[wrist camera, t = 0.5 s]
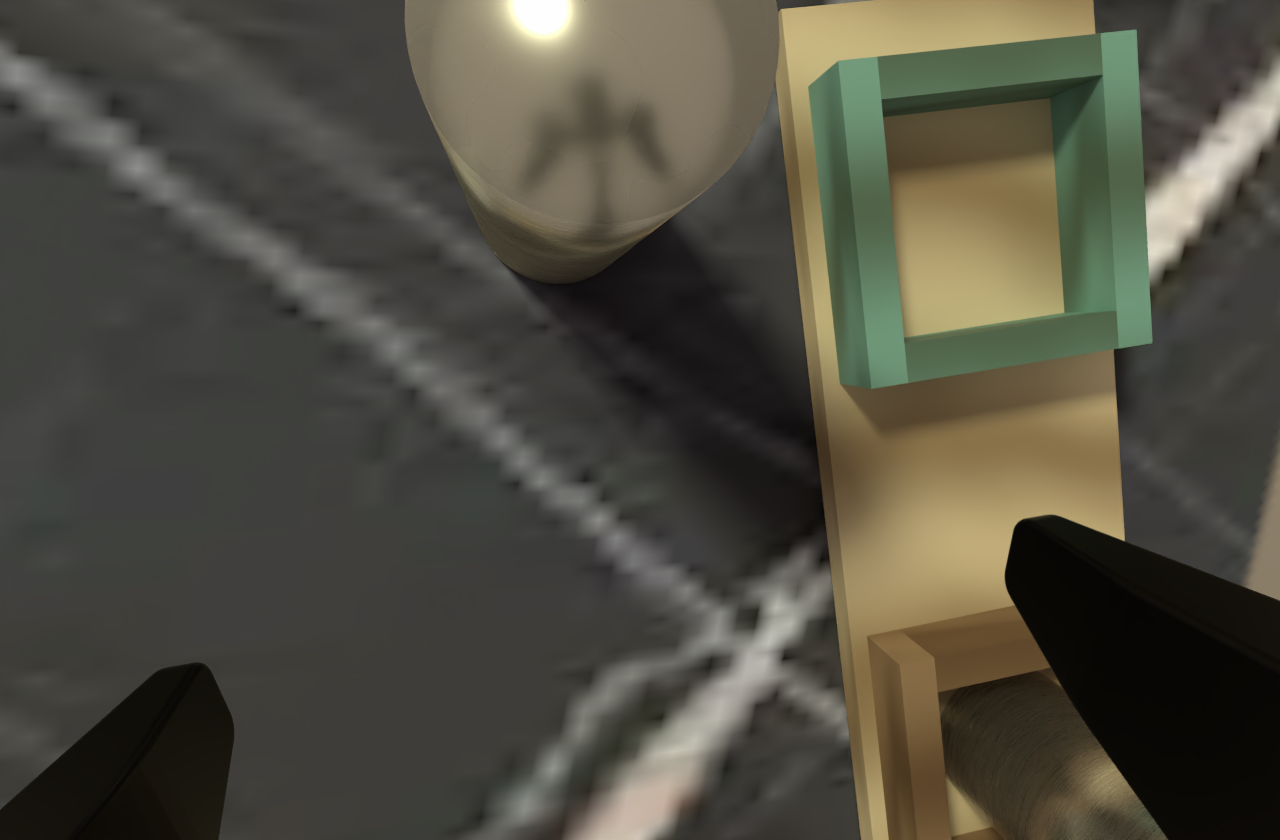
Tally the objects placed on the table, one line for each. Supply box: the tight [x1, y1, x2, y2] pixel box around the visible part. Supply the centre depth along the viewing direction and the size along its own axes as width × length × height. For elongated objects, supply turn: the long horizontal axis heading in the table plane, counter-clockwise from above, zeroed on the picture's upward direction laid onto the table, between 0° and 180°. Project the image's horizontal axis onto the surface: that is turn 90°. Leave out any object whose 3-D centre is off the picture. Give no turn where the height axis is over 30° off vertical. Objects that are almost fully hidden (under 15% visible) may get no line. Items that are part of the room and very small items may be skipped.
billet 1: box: [405, 0, 780, 284], centre depth 15 cm, size 4×4×12 cm
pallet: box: [775, 0, 1152, 840], centre depth 22 cm, size 26×9×3 cm, turn 8°
